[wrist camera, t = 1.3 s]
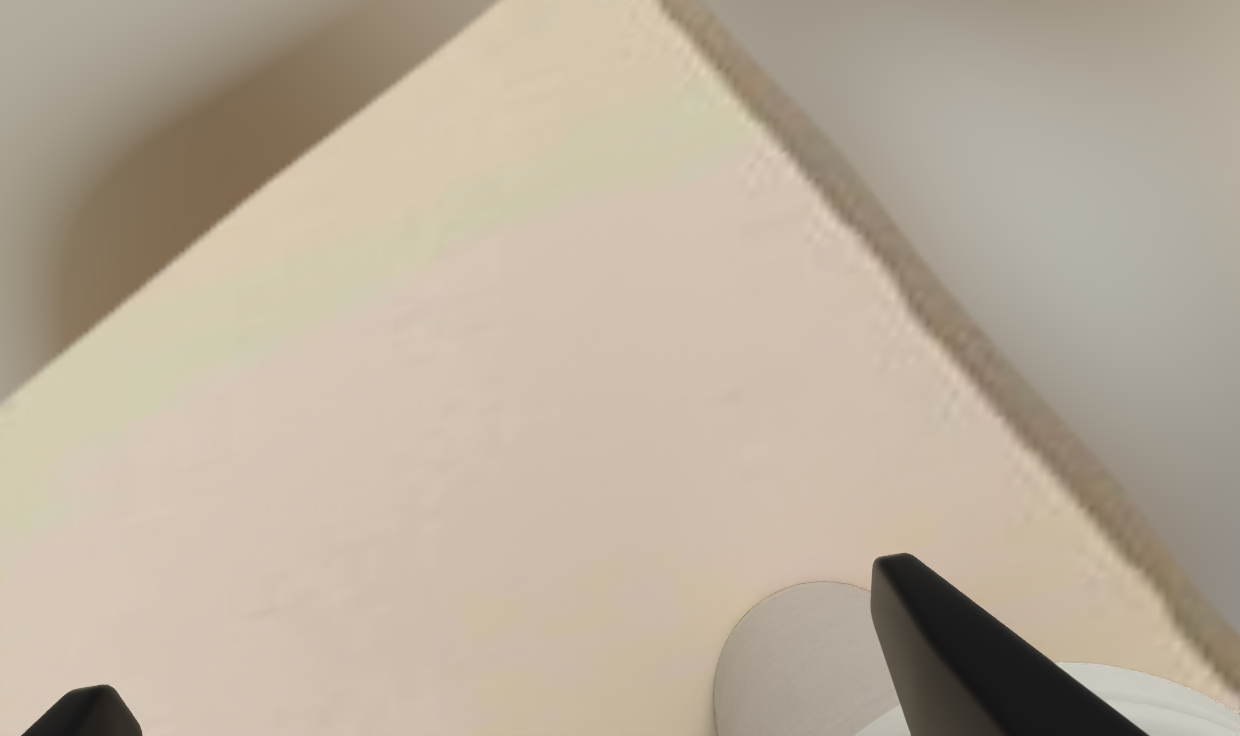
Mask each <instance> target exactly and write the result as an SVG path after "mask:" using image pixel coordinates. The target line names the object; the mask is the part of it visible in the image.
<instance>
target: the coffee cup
mask: <svg viewBox="0 0 1240 736" xmlns="http://www.w3.org/2000/svg"><path fill="white" fill-rule="evenodd" d="M870 600H871V592H869V591H867V590H864V589H862V588H859V587H856V586H852V585H848V584H843V583H837V582H811V583H804V584H799V585H795V586H792V587H789V588H786V589H783V590H781V591H779V592H777V593H775V594H773V595H771V596H769V597H767V598H766V599H764V600H763V601H761V602H760V603H759V604H757V605H756V606H755V607H754V608H752V609H751V610H750V611H749V612H748V613H747V614H746V615H745V616H744V617H743V618H742V619H741V621H740V622H739V623H738V624H737V626H736V627H735V628H734V630H733V631H732V633H731V634H730V636H729V638H728V640H727V641H726V643H725V646H724V648H723V650H722V653H721V655H720V658H719V661H718V665H717V669H716V674H715V681H714V708H715V716H716V724H717V731H718V736H911V734H910V731H909V728H908V725H907V723H906V720H905V717H904V714H903V711H902V708H901V705H900V702H899V699H898V696H897V693H896V690H895V687H894V684H893V681H892V678H891V675H890V672H889V669H888V666H887V663H886V660H885V657H884V654H883V651H882V648H881V645H880V642H879V639H878V636H877V633H876V630H875V627H874V624H873V620H872V616H871V609H870ZM1054 663H1055V664H1056V665H1058V666H1059V667H1060V668H1062V669H1063V670H1064V671H1065V672H1067V673H1068V674H1069V675H1071V676H1072V677H1073V678H1075V679H1076V680H1077V681H1079V682H1080V683H1081V684H1083V685H1084V686H1085V687H1086V688H1088V689H1089V690H1090V691H1092V692H1093V693H1094V694H1096V695H1097V696H1098V697H1100V698H1101V699H1102V700H1104V701H1105V702H1106V703H1108V704H1109V705H1110V706H1111V707H1113V708H1114V709H1115V710H1117V711H1118V712H1119V713H1121V714H1122V715H1123V716H1125V717H1126V718H1127V719H1129V720H1130V721H1131V722H1132V723H1134V724H1135V725H1136V726H1138V727H1139V728H1140V729H1142V730H1143V731H1144V732H1146V733H1147V734H1148V735H1150V736H1240V714H1238V713H1237V712H1235V711H1233V710H1232V709H1230V708H1228V707H1227V706H1225V705H1223V704H1221V703H1220V702H1218V701H1216V700H1214V699H1212V698H1210V697H1208V696H1206V695H1204V694H1202V693H1199V692H1197V691H1195V690H1193V689H1191V688H1188V687H1186V686H1183V685H1181V684H1178V683H1175V682H1173V681H1170V680H1167V679H1164V678H1161V677H1158V676H1154V675H1151V674H1147V673H1143V672H1140V671H1135V670H1131V669H1126V668H1121V667H1115V666H1109V665H1101V664H1093V663H1080V662H1054Z"/></svg>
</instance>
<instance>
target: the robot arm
mask: <svg viewBox="0 0 1240 736" xmlns="http://www.w3.org/2000/svg"><path fill="white" fill-rule="evenodd" d="M870 609H871V616H872V620H873V624H874V627H875V630H876V633H877V636H878V639H879V642H880V645H881V648H882V651H883V654H884V657H885V660H886V663H887V666H888V669H889V672H890V675H891V678H892V681H893V684H894V687H895V690H896V693H897V696H898V699H899V702H900V705H901V708H902V711H903V714H904V717H905V720H906V723H907V725H908V728H909V731H910V734H911V736H1150V735H1148V734H1147V733H1146V732H1144V731H1143V730H1142V729H1140V728H1139V727H1138V726H1136V725H1135V724H1134V723H1132V722H1131V721H1130V720H1129V719H1127V718H1126V717H1125V716H1123V715H1122V714H1121V713H1119V712H1118V711H1117V710H1115V709H1114V708H1113V707H1111V706H1110V705H1109V704H1108V703H1106V702H1105V701H1104V700H1102V699H1101V698H1100V697H1098V696H1097V695H1096V694H1094V693H1093V692H1092V691H1090V690H1089V689H1088V688H1086V687H1085V686H1084V685H1083V684H1081V683H1080V682H1079V681H1077V680H1076V679H1075V678H1073V677H1072V676H1071V675H1069V674H1068V673H1067V672H1065V671H1064V670H1063V669H1062V668H1060V667H1059V666H1058V665H1056V664H1055V663H1054V662H1052V661H1051V660H1050V659H1048V658H1047V657H1046V656H1044V655H1043V654H1042V653H1040V652H1039V651H1038V650H1037V649H1035V648H1034V647H1033V646H1031V645H1030V644H1029V643H1027V642H1026V641H1025V640H1023V639H1022V638H1021V637H1019V636H1018V635H1017V634H1016V633H1014V632H1013V631H1012V630H1010V629H1009V628H1008V627H1006V626H1005V625H1004V624H1002V623H1001V622H1000V621H998V620H997V619H996V618H995V617H993V616H992V615H991V614H989V613H988V612H987V611H985V610H984V609H983V608H981V607H980V606H979V605H977V604H976V603H975V602H973V601H972V600H971V599H970V598H968V597H967V596H966V595H964V594H963V593H962V592H960V591H959V590H958V589H956V588H955V587H954V586H952V585H951V584H950V583H949V582H947V581H946V580H945V579H943V578H942V577H941V576H939V575H938V574H937V573H935V572H934V571H933V570H931V569H930V568H929V567H927V566H926V565H925V564H924V563H922V562H921V561H920V560H918V559H917V558H916V557H914V556H913V555H910V554H908V553H900V554H894V555H888V556H882V557H878V558H877V559H876V560H875V561H874V563H873V568H872V584H871V600H870ZM21 736H142V731H141V728H140V725H139V723H138V722H137V720H136V719H135V717H134V716H133V714H132V713H131V711H130V710H129V709H128V707H127V706H126V704H125V703H124V701H123V700H122V698H121V697H120V696H119V694H118V693H117V691H116V690H115V689H114V688H113V687H111V686H109V685H97V686H91V687H85V688H79V689H75V690H72V691H70V692H68V693H67V694H65V695H64V696H63V697H62V698H61V699H60V700H59V701H58V702H56V703H55V704H54V705H53V706H52V707H51V708H50V709H49V710H48V711H47V712H46V713H45V714H44V715H43V716H42V717H41V718H39V719H38V720H37V721H36V722H35V723H34V724H33V725H32V726H31V727H30V728H29V729H28V730H27V731H26V732H25V733H24V734H22V735H21Z"/></svg>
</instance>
